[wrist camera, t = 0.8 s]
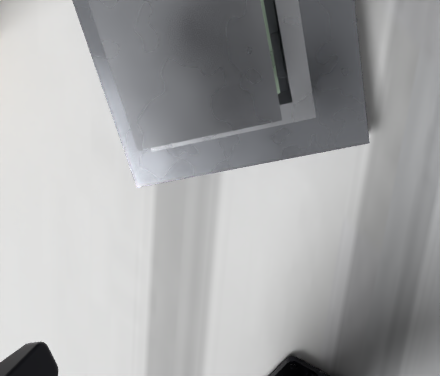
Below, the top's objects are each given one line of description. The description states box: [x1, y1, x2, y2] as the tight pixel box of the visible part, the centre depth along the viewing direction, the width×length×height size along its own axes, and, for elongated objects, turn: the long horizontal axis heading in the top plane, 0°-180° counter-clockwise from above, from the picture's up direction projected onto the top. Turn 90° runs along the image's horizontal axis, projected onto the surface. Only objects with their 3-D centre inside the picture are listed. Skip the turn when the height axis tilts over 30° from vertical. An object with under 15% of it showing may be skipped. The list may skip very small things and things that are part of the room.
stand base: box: [72, 0, 369, 188], centre depth 17 cm, size 12×12×4 cm
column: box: [88, 0, 282, 151], centre depth 14 cm, size 5×5×8 cm
